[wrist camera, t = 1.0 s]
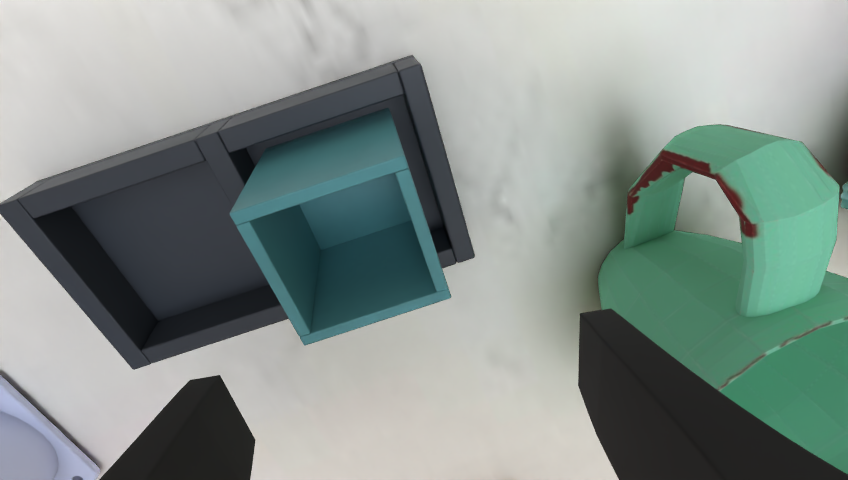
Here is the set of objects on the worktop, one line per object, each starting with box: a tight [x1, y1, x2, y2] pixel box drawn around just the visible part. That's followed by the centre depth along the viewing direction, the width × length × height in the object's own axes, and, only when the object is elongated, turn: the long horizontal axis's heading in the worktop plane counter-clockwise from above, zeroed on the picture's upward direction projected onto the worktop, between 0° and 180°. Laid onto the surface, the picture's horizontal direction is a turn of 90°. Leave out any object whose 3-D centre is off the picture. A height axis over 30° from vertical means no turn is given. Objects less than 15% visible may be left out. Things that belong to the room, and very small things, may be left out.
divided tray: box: [0, 55, 475, 370], centre depth 18 cm, size 15×8×2 cm, turn 107°
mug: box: [598, 124, 848, 474], centre depth 18 cm, size 15×10×10 cm
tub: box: [230, 108, 451, 345], centre depth 16 cm, size 5×5×6 cm
